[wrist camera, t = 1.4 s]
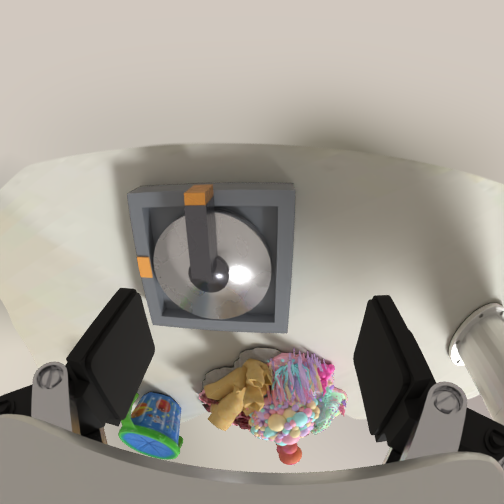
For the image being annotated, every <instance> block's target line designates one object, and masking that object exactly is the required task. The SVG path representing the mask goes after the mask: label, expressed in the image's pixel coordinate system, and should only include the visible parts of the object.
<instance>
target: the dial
mask: <svg viewBox="0 0 504 504" xmlns="http://www.w3.org/2000/svg"><path fill="white" fill-rule="evenodd" d="M184 202H185V205H184V211H185V213H184V214H182V215H181V216H179V217H178V218H176V219H175V220H174V221H173V222H172V223H171V224H170V225H169V226H168V227H167V228H166V229H165V230H164V232H163V233H162V234H161V236H160V237H159V239H158V241H157V244H156V247H155V251H154V270H155V274H156V277H157V280H158V282H159V284H160V286H161V288H162V289H163V291H164V292H165V293H166V295H167V296H168V297H169V298H170V299H171V300H172V301H173V302H174V303H175V304H177V305H178V306H179V307H181V308H182V309H184V310H186V311H187V312H190V313H192V314H194V315H197V316H200V317H204V318H209V319H228V318H233V317H237V316H240V315H242V314H244V313H246V312H248V311H250V310H251V309H253V308H254V307H255V306H256V305H257V304H258V303H259V302H260V301H261V300H262V299H263V297H264V296H265V294H266V292H267V290H268V288H269V284H270V280H271V266H272V264H271V254H270V250H269V247H268V244H267V242H266V240H265V239H264V237H263V235H262V234H261V233H260V231H259V230H258V229H257V228H256V227H255V226H254V225H253V224H252V223H251V222H250V221H248V220H247V219H246V218H244V217H242V216H241V215H239V214H237V213H235V212H232V211H229V210H226V209H221V208H215V202H214V195H213V184H209V185H193V186H192V187H191V188H190V189H188V190H187V191H186V192H185V193H184Z"/></svg>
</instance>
